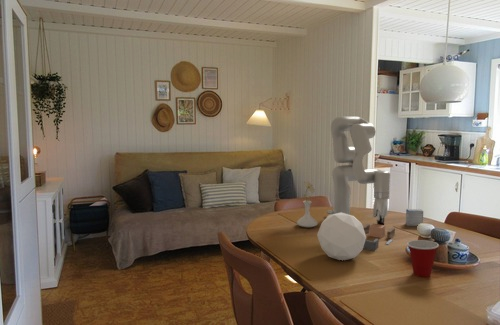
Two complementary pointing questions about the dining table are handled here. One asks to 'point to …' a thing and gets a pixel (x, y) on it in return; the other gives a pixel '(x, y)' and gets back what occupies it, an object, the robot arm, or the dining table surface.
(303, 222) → the flower in vase
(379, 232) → the block
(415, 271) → the plastic cup
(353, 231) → the ball
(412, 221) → the medicine box
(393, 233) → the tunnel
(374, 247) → the trap bay
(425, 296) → the dining table surface
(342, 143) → the robot arm
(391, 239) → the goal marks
